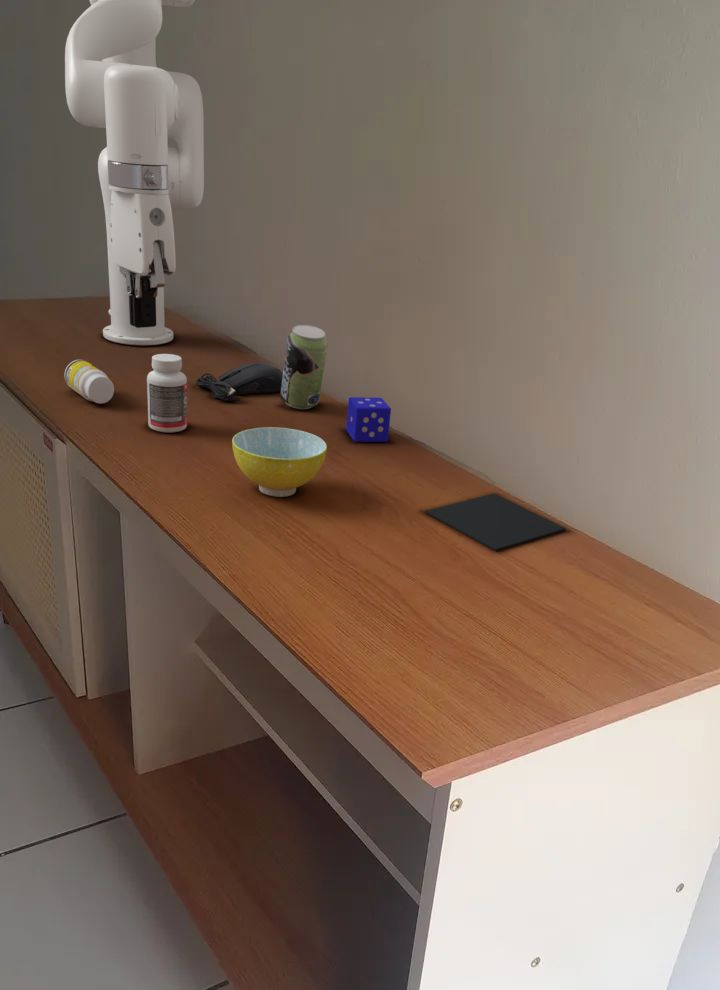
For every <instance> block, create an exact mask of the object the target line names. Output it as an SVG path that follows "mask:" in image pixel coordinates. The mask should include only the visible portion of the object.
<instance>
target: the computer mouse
mask: <svg viewBox="0 0 720 990" xmlns="http://www.w3.org/2000/svg"><path fill="white" fill-rule="evenodd" d="M282 378H283V371H281V369H279V368H278V367H277V366H275V365H272V364H270V363H266V362H252V363H247V364H243V365H240V366H237V367H234V368H232V369H230V370H228V371H226V372H224V373H222V374H221V375H219V376H218V379H216V378H215V376H214V374H212V373H210V372H205V373H203V374H202V375H201V376H200V377H199V378H197V379H196V380H195V382H194V383H195V385H197V386H198V387H201V388H205V389H208V390H210V392H211V397H212V398H213V399H215V400H221V401H223V402H234V401H235V399H236V395H247V394H263V393H278V392H281V386H282Z"/></svg>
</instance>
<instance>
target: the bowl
mask: <svg viewBox="0 0 720 990" xmlns="http://www.w3.org/2000/svg"><path fill="white" fill-rule="evenodd" d="M231 445H232V447H231V448H232V452H233V456H234V459H235V462H236V464H237V466H238V467H239V470H240V471H241V472H242V473H243V474H244V476H245V477H247V478H248V479H249V480H250V481H251V482H253V483H255V484H256V485H258V490H259V491H260V492H261V493H262V494H264V495H266V496H271V497H276V498H283V497H290V496H293V495H294V494H295V493H297V492H296V491H297V488H299V487H302V486H304V485H306V484H307V483H309V482H310V481H311V480H312V479H314V477H316V475H318V474H319V472H320V470H321V469H322V466H323V464H324V463H325V459H326V456H327V452H328V445H327V442H326V441H325V440H324V439H322V438H321V437H320V436H317V435H316V434H313V433H311V432H307V431H305V430H300V429H296V428H295V429H294V428H288V427H276V426H275V427H274V426H271V427H270V426H269V427H268V426H267V427H266V426H265V427H255V428H249V429H244V430H242V431H239V432H237V433H236V434H234V436H233V437H232V439H231Z"/></svg>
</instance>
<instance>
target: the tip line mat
mask: <svg viewBox="0 0 720 990" xmlns="http://www.w3.org/2000/svg"><path fill="white" fill-rule="evenodd" d="M424 513H425V514H426V515H428V516H430V517H432V518H434V519H436V520H437V521H439V522H441V523H443V524H444V525H446V526H449V527H450V528H452V529H454V530H456V531H458V532H459V533H462V534H463V535H465V536H467V537H469V538H470V539H472V540H474V541H475V542H477V543H480V544H481V545H483V546H485V547H487V548H489V549H490V550H492V551H495V552H498V551H502V550H504V549H509V548H511V547H514V546H517V545H518V546H519V545H521V544H525V543H528V542H531V541H535V540H539V539H541V538H545V537H548V536H552V535H555V534H558V533H561V532H564V531H566V527H564V526H562V525H560V524H558V523H555V522H554V521H552V520H549V519H548V518H546V517H544V516H542V515H539V514H537V513H535V512H533V511H531V510H529V509H527V508H525V507H523V506H521V505H519V504H517V503H515V502H513V501H511V500H509V499H507V498H505V497H503V496H501V495H499V494H497V493H492V494H487V495H483V496H480V497H475V498H471V499H466V500H463V501H459V502H456V503H451V504H447V505H443V506H439V507H435V508H432V509H427V510H425V512H424Z"/></svg>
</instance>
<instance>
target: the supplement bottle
mask: <svg viewBox="0 0 720 990" xmlns="http://www.w3.org/2000/svg"><path fill="white" fill-rule="evenodd" d="M64 381H65V383H66V385H67V386H68V388H70V389H71V390H73V392H75V393H76V394H78V395H80V396H81V397H82V398H84V400H86V401H89V402H94V403H96V404H100V405H102V404H106V403H108V402H110V400H112V398H113V397H114V393H115V386H114V383H113V381H112V380H111V379H110V378H109V377H108V375H107V374H106V373H105V372H104V371H102V370H101V369H99V368H97V366H96V365H93V364H92V363H90V362H89V361H87V360H85V359H75V360H73V361H70V363H69V364H68V365H67V366H66V368H65V370H64Z"/></svg>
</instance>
